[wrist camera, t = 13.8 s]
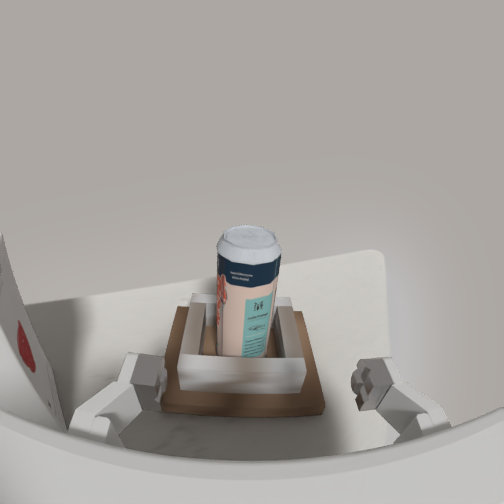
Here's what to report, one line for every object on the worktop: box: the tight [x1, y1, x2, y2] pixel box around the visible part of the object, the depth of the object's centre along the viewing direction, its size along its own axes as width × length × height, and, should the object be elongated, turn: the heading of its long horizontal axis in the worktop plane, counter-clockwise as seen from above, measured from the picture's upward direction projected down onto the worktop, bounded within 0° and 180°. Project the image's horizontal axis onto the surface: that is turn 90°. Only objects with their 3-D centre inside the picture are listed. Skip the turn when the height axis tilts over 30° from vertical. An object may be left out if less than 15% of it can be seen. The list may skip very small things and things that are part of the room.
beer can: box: [216, 225, 281, 358], centre depth 25 cm, size 5×5×12 cm
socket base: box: [162, 293, 325, 417], centre depth 27 cm, size 14×13×4 cm
